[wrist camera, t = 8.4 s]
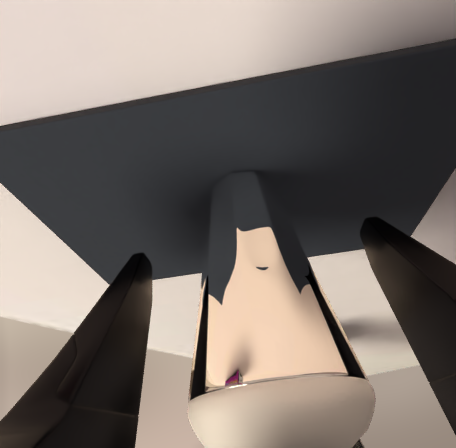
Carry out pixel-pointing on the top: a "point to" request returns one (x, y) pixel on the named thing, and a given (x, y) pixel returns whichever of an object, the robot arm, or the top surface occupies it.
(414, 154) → the mat
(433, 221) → the top surface
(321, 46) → the top surface
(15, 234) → the top surface
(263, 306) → the milkshake
